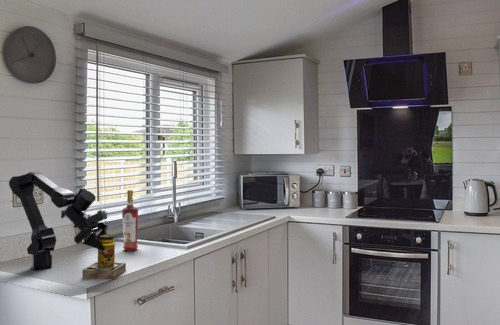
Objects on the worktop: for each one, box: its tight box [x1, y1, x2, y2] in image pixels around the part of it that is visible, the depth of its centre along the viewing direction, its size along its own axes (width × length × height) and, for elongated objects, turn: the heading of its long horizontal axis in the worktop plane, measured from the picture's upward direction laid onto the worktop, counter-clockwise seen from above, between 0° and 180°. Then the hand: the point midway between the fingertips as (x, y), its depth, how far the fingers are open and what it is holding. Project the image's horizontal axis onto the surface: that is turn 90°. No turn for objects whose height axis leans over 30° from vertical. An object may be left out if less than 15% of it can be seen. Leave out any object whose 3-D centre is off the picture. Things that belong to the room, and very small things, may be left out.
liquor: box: [121, 189, 139, 252], centre depth 208 cm, size 7×7×28 cm
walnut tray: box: [81, 261, 127, 280], centre depth 170 cm, size 12×11×3 cm
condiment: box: [89, 233, 118, 270], centre depth 170 cm, size 7×8×12 cm
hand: (107, 247), depth 169 cm, fingers open, 6 cm apart
